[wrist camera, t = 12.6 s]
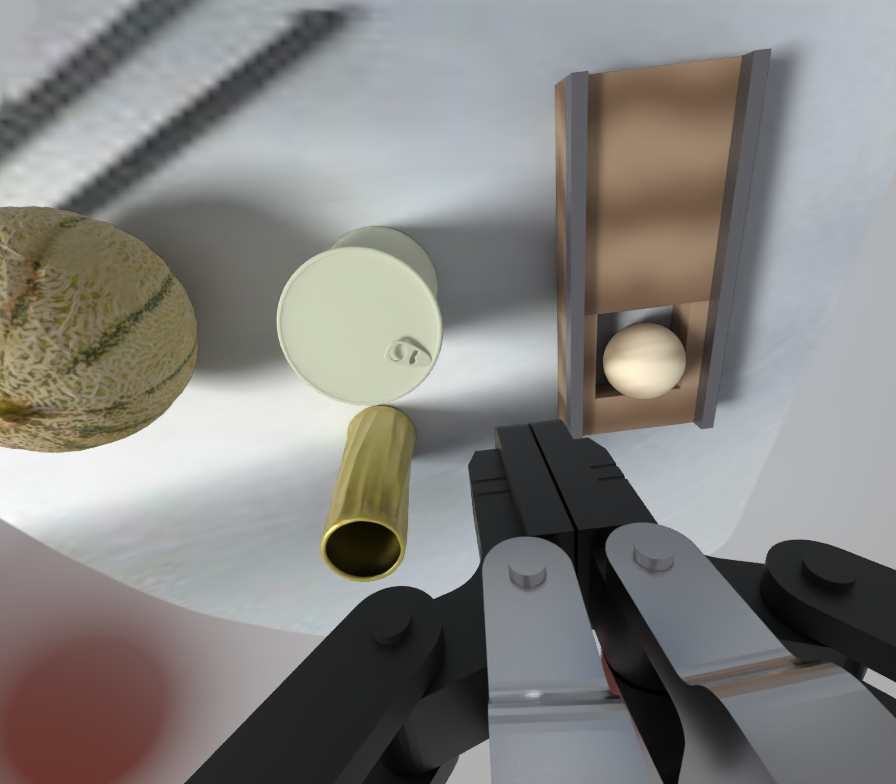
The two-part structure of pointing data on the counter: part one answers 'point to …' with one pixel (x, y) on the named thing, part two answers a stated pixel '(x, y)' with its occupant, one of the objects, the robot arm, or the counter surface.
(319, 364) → the can
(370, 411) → the vase
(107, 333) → the cantaloupe
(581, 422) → the runway
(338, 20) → the counter surface
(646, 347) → the ball
